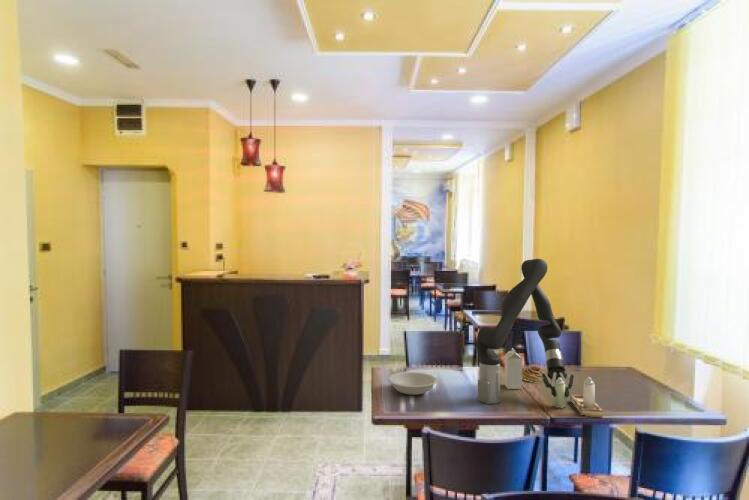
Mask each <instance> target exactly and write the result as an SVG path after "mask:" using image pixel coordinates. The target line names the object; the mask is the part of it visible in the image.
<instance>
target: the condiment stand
mask: <svg viewBox="0 0 749 500" xmlns="http://www.w3.org/2000/svg"><path fill="white" fill-rule="evenodd" d="M569 399H570V400H571V401H572V402H573V404H574V405H575V406H576V407H577V409H578V410H579V411H580V413H581V414H582V415H586V416H585V417H588V416H590V417H591V418H603V417H604V412H603V410H604V409H602V408H601V406H600V405H599V404H598V403H597V402H596V401H595V409H589V408H584V407H583V394H582V395H580V394H570V398H569ZM571 401H570V402H571ZM573 404H572V405H573ZM574 405H573V406H574ZM575 406H574V407H575ZM577 409H576V410H577ZM578 410H577V411H578ZM580 413H579V414H580ZM581 414H580V415H581ZM582 415H581V416H582Z"/></svg>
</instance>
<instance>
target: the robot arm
mask: <svg viewBox="0 0 749 500" xmlns="http://www.w3.org/2000/svg"><path fill="white" fill-rule="evenodd" d="M520 268H521V273H522V277H523V279H522V280H521V281H520V282H519V283H517V284H516V285H515V286H513V287H512V288H511V289H510V290H509V291H508V292H507V294H506V296H505V297H504V299H503V300H502V303H501V309H500V311H501V314H500V315H501V317H500V319H499V321H498V323H497V324H496V326H495V328H494V327H490V326H482V327H480V328H479V330H478V332H477V337H476V344H477V345H476V348H477V356H478V359H479V363H478V364H479V366H478V367H479V368H478V369H479V372H478V374H479V375H478V377H479V378H478V380H477V401H478V402H482V403H484V404H486V405H490V404H494V405H495V404H498V403H500V402H501V358H500V356H499V355H498V354H497V353H496V352H495V350H499V349H501V348H502V347H503V345H504V344H505V342H506V340H507V337H508V335H509V333H510V332H511V329H512V327H513V325H514V323H515V321H516V320H517V319H518V316H519V315H520V313H521V312H522V310H523V309H524V307H525V305H526V303H527V302H528V300H529V298H530V297H532V299H533V303H534V306H535V311H536V314H537V315H536V316H537V318H538V320H539V321H542V322H543V321H544V322H549V323H547V324H542V325H539V326H538V328H537V335H538V337H539V338H540V340H541V342H542V344H543V349H544V353H545V355H544V358H545V364H546V369H547V373H545V372H544V373H545V374H544V373H542V376H541V377H542V379H543V384H544V385H545V388H549V389H550V392H551V395H552V396H553V397H556V391H555V387H554V383H555V381H556V380H557V379H558V378H562V381H564V384H565V399H566V398H568V397H569V396H570V392H569V391H570V390H571V389H572V387H573V384H574V374H568V373H567V372H566V368H565V367H566V366H565V362H564V357H563V354H562V351H561V350H562V349H561V345H560V342H559V341H558V340H556V339H558V338H559V339H560V337H561V336H562V330H561V327H560V326H559V324H558V322H557V321H556V319H555V317H554V313H553V310H552V305H551V302H550V300H549V299H548V296H547V295H546V294H545V291H543V289H542V288H541V286H540V283H541V282H542V280H543V279H544V278H545V276H546V274H547V272H548V263H547V262H546V260H544V259H542V258H534V259H532V258H531V259H527V260H525V261H523V262H522V263H521V267H520ZM549 379H550V380H551V381H550V382H551V383H550V382H549ZM566 379H567V380H568V383H567V380H566Z"/></svg>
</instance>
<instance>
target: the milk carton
mask: <svg viewBox="0 0 749 500" xmlns="http://www.w3.org/2000/svg"><path fill="white" fill-rule="evenodd" d="M522 369H523V358H522V357H521V356H520V355H519V354H518V353H517V352H516V350H515V349H514V348H513V347H512V348H511V350H509V351H507V352H506V353H505V355H504V386H505V387H506V389H507V390H508V389H509V390H522V389H523V380H522Z"/></svg>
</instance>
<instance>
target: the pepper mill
mask: <svg viewBox="0 0 749 500" xmlns="http://www.w3.org/2000/svg"><path fill="white" fill-rule="evenodd" d="M554 387H555V391H556V397H554V396H553V397H554V398H553V399H554V400H553V403H554V405H555V406H557V407H565V408H566V397H565V384H564V381H562V378H558V379H557V380H556V381H555V383H554Z"/></svg>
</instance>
